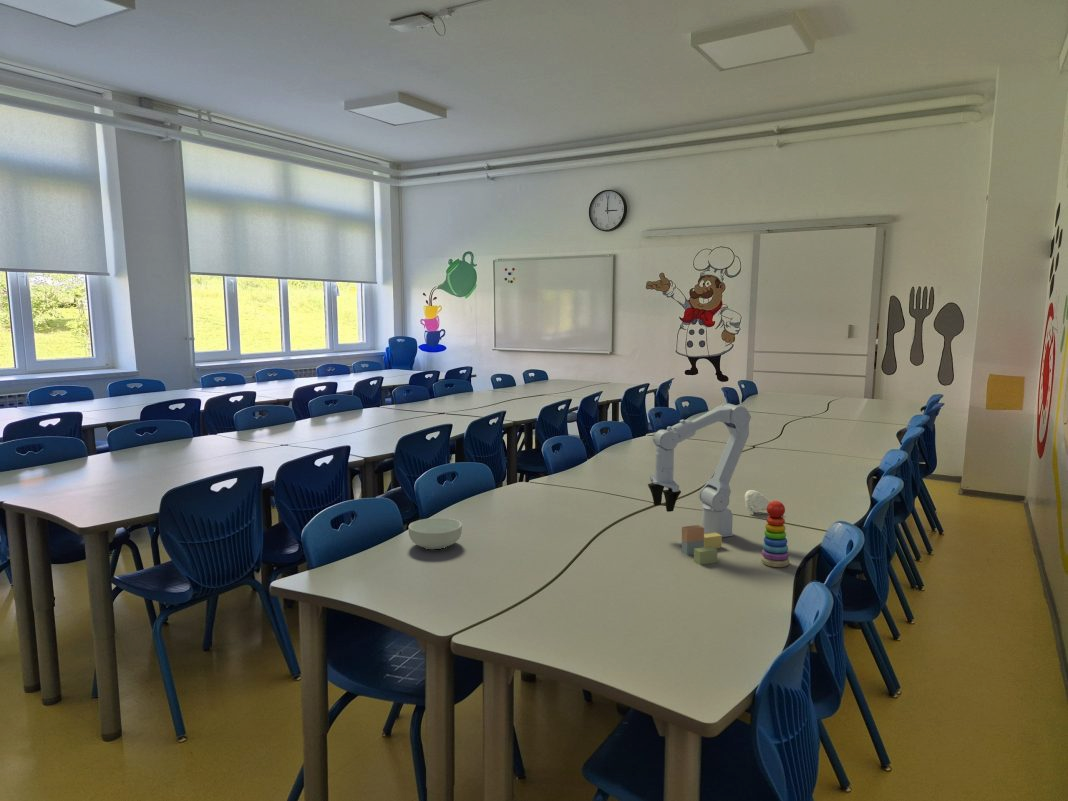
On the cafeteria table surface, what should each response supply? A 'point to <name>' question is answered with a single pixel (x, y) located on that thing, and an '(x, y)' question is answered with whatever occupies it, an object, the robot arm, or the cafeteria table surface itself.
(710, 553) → the olive brick
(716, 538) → the mustard brick
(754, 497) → the white textured lump
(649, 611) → the cafeteria table surface
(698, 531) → the terracotta brick
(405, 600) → the cafeteria table surface
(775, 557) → the stacking toy
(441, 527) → the cereal bowl
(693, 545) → the slate brick
